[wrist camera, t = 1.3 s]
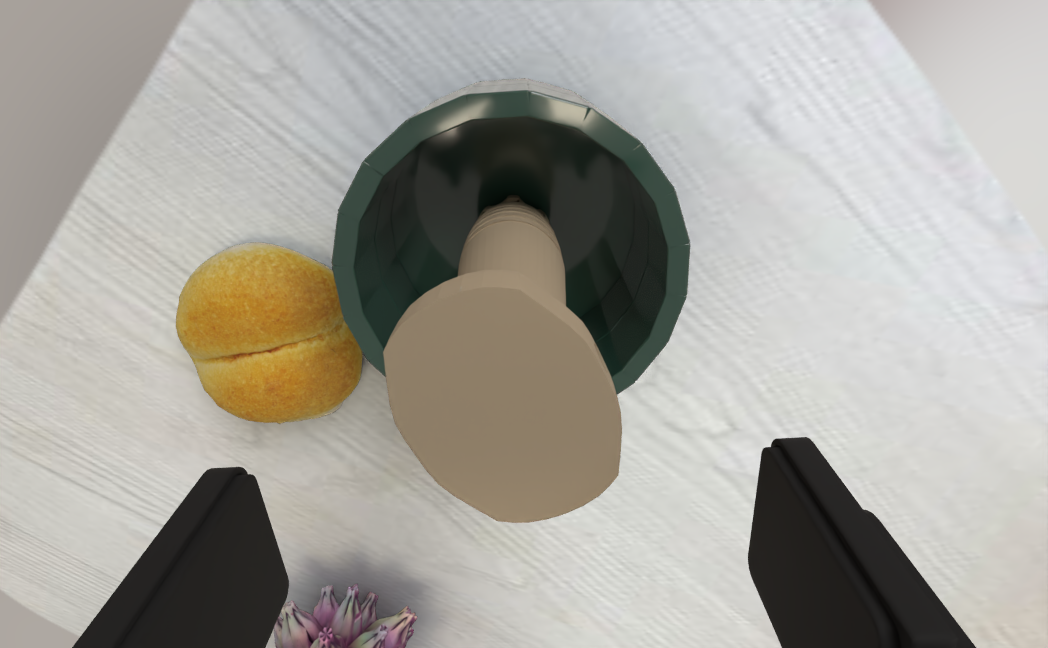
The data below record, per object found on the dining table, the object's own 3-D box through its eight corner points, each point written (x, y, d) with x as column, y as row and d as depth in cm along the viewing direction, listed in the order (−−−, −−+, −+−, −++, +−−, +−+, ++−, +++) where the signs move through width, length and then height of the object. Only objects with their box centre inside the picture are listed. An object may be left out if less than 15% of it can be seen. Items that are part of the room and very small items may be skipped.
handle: (530, 138, 25) (542, 250, 12) (589, 265, 28) (656, 479, 14) (432, 188, 26) (338, 346, 13) (498, 307, 29) (479, 546, 15)
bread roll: (332, 224, 27) (303, 252, 24) (381, 388, 31) (363, 433, 27) (161, 251, 28) (108, 282, 24) (231, 408, 31) (194, 456, 28)
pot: (353, 89, 25) (295, 105, 18) (654, 69, 24) (701, 77, 18) (399, 353, 30) (367, 435, 24) (645, 338, 30) (679, 418, 23)
